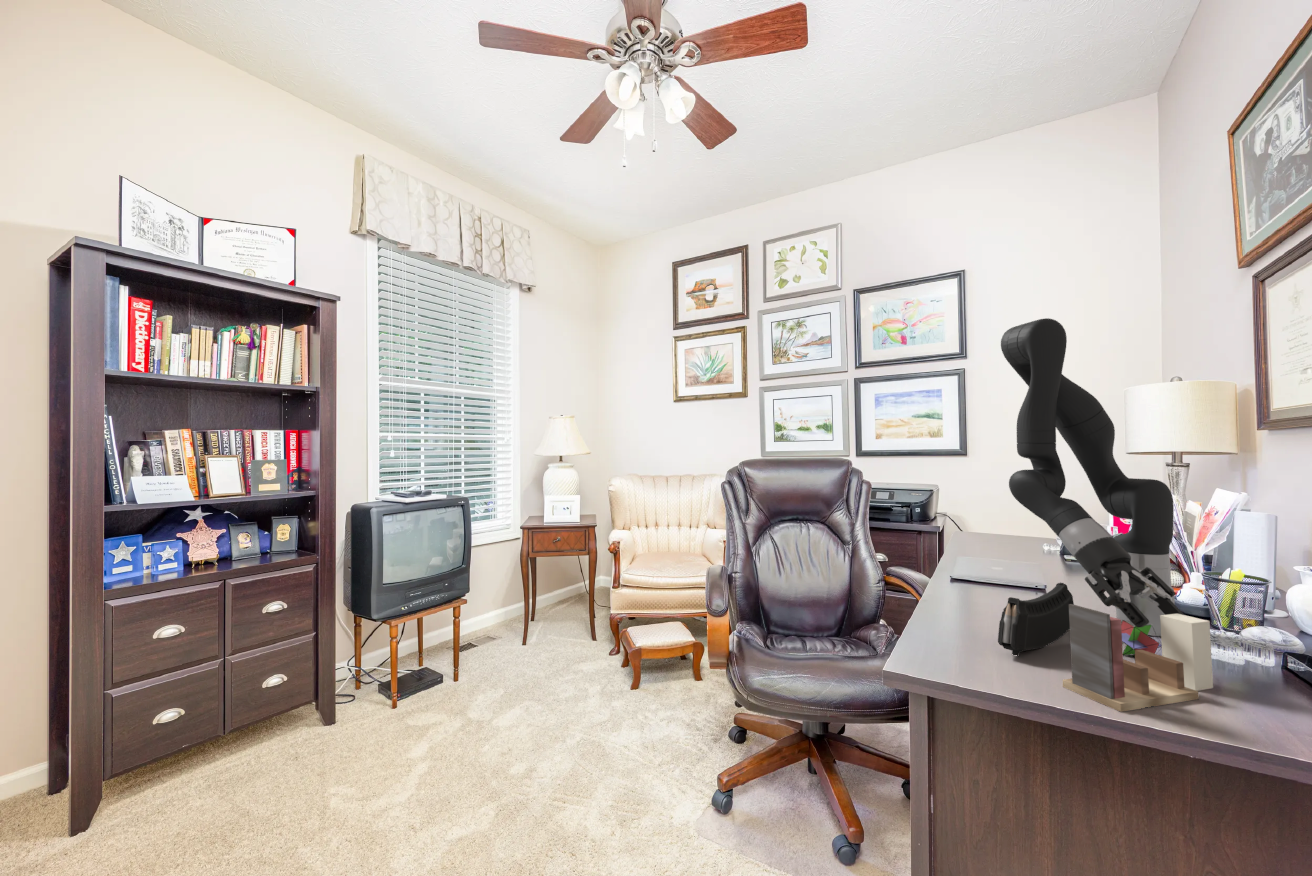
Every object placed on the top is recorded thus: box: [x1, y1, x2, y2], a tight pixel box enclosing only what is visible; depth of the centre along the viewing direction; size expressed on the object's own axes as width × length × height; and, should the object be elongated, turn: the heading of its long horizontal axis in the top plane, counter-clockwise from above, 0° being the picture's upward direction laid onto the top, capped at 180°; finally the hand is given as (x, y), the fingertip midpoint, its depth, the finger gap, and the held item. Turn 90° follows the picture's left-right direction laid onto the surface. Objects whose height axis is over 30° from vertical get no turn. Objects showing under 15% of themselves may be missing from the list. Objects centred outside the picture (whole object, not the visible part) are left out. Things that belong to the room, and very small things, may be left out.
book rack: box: [1062, 604, 1199, 713], centre depth 86 cm, size 16×9×14 cm, turn 103°
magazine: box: [997, 582, 1075, 657], centre depth 110 cm, size 17×3×30 cm
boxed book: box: [1160, 613, 1214, 692], centre depth 89 cm, size 4×4×11 cm
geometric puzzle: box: [1121, 620, 1162, 659], centre depth 101 cm, size 7×7×8 cm
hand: (1162, 623), depth 92 cm, fingers open, 8 cm apart
